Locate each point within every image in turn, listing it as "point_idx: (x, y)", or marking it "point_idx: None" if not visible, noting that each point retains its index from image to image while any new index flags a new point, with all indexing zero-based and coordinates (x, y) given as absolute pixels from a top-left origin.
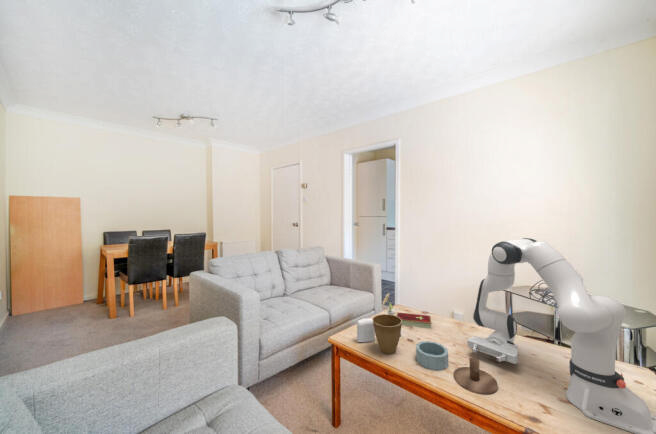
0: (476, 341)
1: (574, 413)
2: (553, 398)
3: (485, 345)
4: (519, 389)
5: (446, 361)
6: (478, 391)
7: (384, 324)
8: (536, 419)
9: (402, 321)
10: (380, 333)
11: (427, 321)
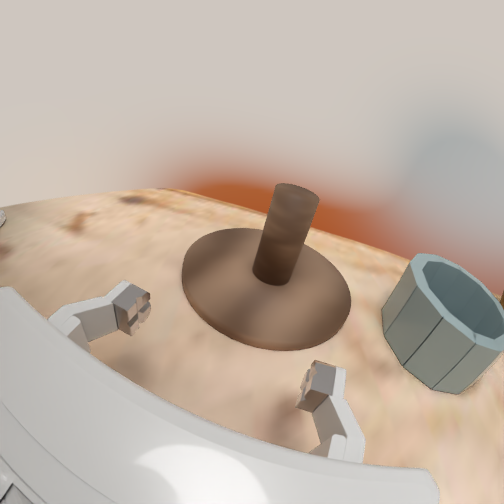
0: (357, 501)
1: (21, 222)
2: (19, 254)
3: (230, 446)
4: (99, 272)
5: (397, 300)
6: (254, 230)
7: None
8: (127, 200)
9: None
10: None
11: None
